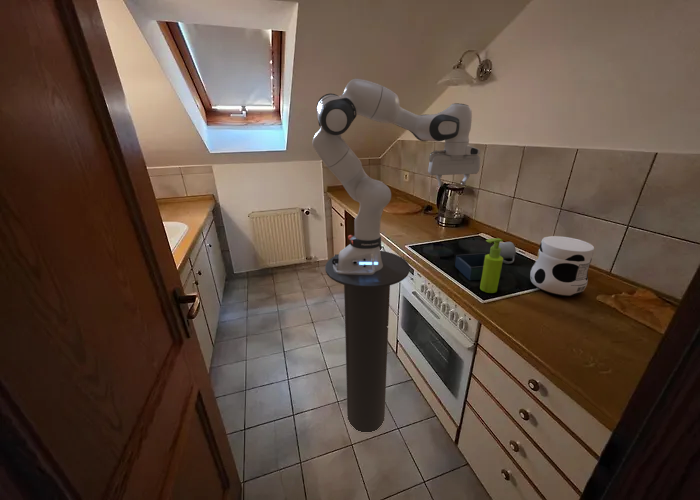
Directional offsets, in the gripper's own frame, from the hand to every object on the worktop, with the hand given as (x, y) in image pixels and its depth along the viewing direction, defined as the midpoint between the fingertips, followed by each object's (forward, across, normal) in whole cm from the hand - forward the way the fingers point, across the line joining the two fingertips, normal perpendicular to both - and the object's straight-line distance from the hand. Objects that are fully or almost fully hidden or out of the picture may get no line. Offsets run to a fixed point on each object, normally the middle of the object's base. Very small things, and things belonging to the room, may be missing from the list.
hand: (451, 185), depth 121 cm
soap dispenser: (+34, +6, -26) cm, 43 cm away
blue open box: (+34, +10, -12) cm, 37 cm away
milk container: (+34, +31, -29) cm, 55 cm away
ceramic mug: (+34, +28, -2) cm, 44 cm away
